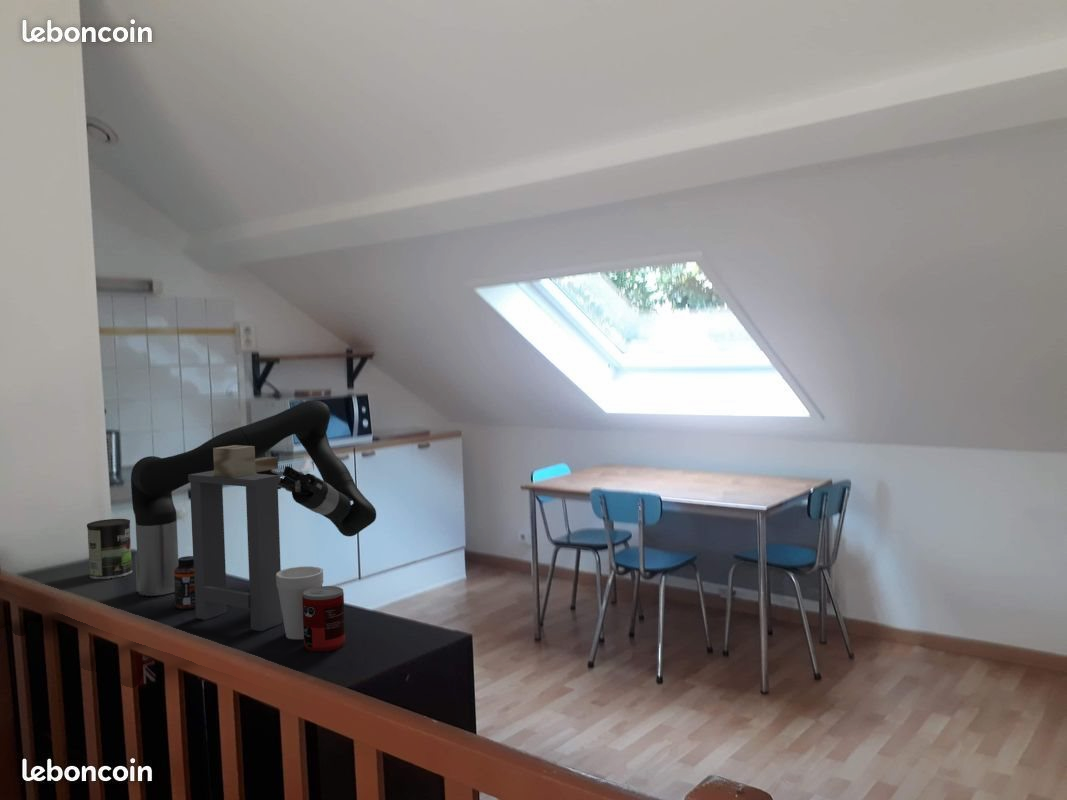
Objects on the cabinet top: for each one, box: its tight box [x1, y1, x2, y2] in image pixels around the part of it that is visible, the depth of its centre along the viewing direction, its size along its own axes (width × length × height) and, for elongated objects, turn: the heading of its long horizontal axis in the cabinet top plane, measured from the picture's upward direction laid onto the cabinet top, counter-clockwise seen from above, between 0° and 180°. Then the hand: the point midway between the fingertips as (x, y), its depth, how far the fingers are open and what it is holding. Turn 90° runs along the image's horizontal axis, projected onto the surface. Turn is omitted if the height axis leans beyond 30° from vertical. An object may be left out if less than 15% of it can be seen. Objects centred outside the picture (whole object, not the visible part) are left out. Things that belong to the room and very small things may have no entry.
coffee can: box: [86, 518, 133, 580], centre depth 223 cm, size 10×10×14 cm
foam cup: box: [276, 565, 324, 640], centre depth 173 cm, size 10×9×13 cm
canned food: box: [302, 585, 346, 652], centre depth 166 cm, size 8×8×11 cm
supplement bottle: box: [174, 555, 196, 610], centre depth 194 cm, size 6×6×11 cm
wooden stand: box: [188, 471, 284, 632], centre depth 182 cm, size 20×7×32 cm, turn 61°
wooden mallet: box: [213, 445, 279, 477], centre depth 185 cm, size 6×14×6 cm, turn 151°
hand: (271, 469), depth 191 cm, fingers open, 8 cm apart
